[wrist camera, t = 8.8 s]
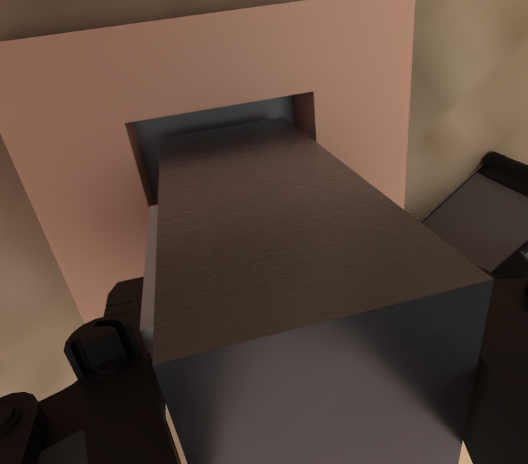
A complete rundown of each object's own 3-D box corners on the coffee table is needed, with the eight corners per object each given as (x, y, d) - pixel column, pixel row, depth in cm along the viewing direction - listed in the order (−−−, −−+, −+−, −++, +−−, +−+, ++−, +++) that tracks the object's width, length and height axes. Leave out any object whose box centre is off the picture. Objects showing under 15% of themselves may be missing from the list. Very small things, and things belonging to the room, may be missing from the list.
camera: (375, 374, 29) (466, 525, 20) (292, 317, 25) (362, 476, 16) (552, 222, 26) (749, 321, 17) (492, 128, 22) (712, 197, 13)
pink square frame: (2, 42, 15) (-39, 46, 12) (371, -8, 17) (416, -15, 14) (113, 323, 22) (105, 371, 19) (369, 263, 24) (399, 297, 21)
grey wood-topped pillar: (160, 138, 16) (152, 365, 5) (283, 116, 16) (494, 279, 6) (191, 265, 18) (227, 574, 8) (295, 242, 19) (451, 500, 9)
